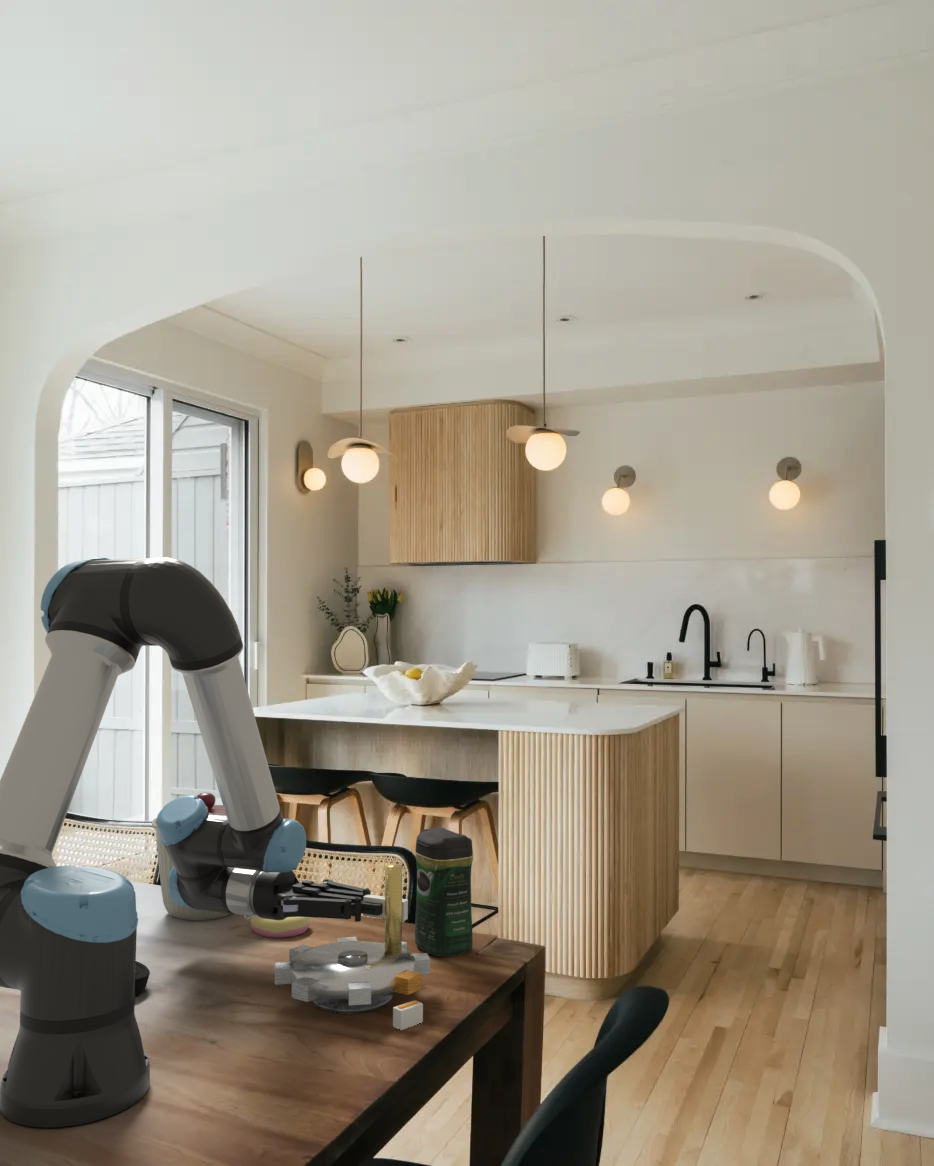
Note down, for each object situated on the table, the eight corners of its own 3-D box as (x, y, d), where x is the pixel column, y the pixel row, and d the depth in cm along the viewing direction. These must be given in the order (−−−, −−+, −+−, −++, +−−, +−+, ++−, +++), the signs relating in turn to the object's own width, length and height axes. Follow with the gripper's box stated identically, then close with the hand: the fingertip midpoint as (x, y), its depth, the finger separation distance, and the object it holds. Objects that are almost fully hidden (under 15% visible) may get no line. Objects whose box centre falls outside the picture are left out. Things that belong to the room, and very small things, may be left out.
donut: (275, 956, 159) (321, 935, 165) (274, 930, 158) (321, 909, 164) (240, 933, 165) (286, 913, 172) (239, 907, 165) (285, 889, 171)
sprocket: (321, 1017, 120) (322, 901, 121) (250, 969, 137) (251, 868, 138) (458, 981, 133) (458, 876, 133) (377, 942, 149) (378, 848, 150)
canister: (276, 908, 177) (278, 790, 178) (198, 934, 162) (201, 805, 163) (207, 893, 187) (209, 781, 188) (127, 916, 172) (130, 795, 173)
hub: (369, 1019, 128) (369, 997, 128) (296, 1006, 132) (296, 985, 132) (406, 990, 138) (406, 970, 138) (337, 979, 142) (337, 960, 142)
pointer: (400, 1030, 124) (401, 1009, 124) (393, 1026, 125) (393, 1005, 125) (422, 1022, 126) (422, 1002, 127) (414, 1019, 128) (415, 998, 128)
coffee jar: (480, 953, 154) (481, 833, 154) (436, 961, 150) (436, 838, 150) (450, 936, 162) (451, 822, 163) (407, 943, 158) (408, 827, 159)
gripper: (286, 905, 155) (423, 924, 146) (239, 928, 143) (385, 950, 134) (287, 857, 155) (424, 873, 147) (240, 876, 143) (386, 895, 135)
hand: (405, 910), depth 140 cm, fingers closed
